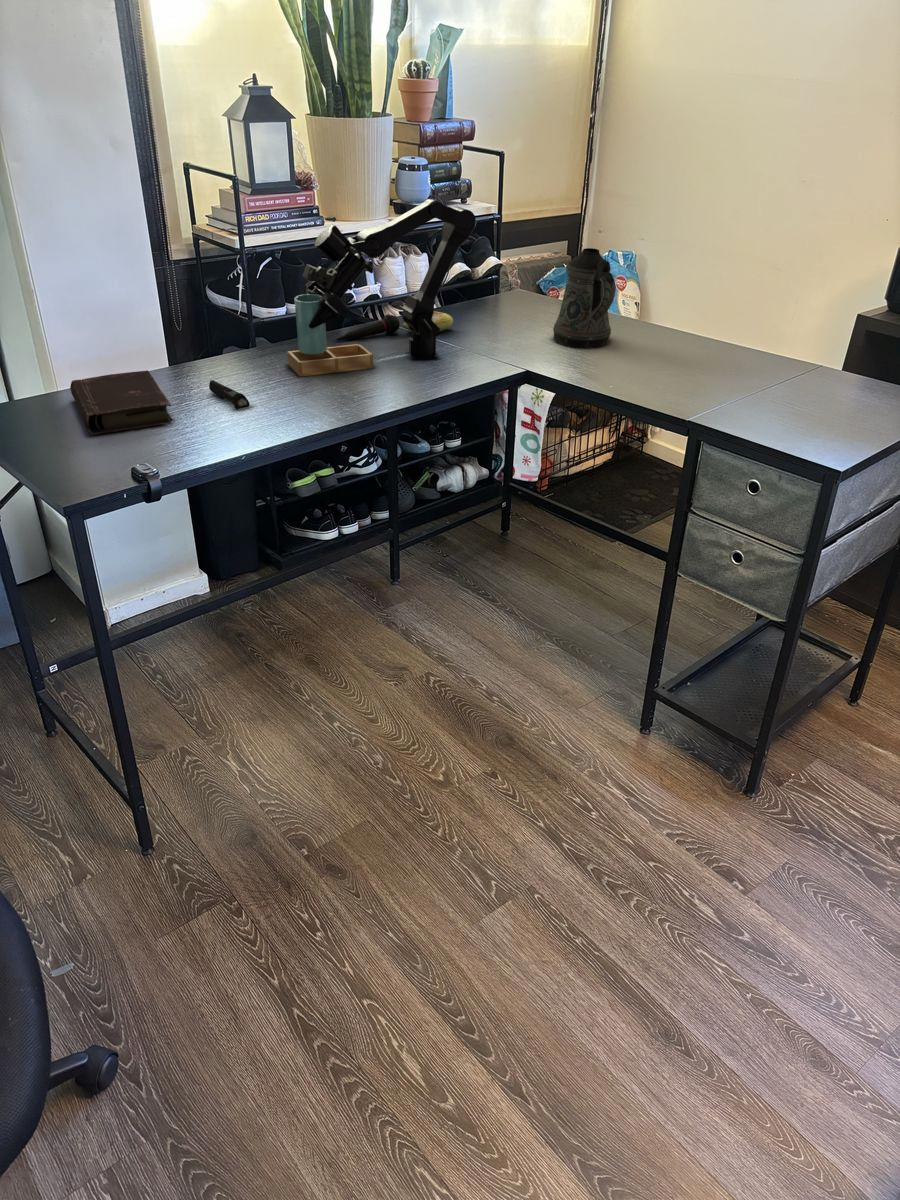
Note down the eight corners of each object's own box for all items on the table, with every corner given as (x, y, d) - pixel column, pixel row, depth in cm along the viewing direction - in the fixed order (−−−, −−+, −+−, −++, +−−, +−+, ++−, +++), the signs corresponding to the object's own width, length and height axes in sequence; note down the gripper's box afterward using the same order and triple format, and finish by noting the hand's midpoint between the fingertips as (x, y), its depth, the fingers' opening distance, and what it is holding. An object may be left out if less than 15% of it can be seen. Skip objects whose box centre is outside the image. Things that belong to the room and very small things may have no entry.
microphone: (341, 353, 252) (402, 335, 260) (341, 335, 248) (403, 318, 255) (333, 343, 255) (393, 325, 262) (332, 325, 250) (394, 308, 258)
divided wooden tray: (360, 357, 239) (359, 343, 237) (373, 368, 231) (373, 354, 229) (288, 365, 232) (287, 351, 230) (299, 376, 224) (298, 362, 222)
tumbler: (331, 346, 229) (328, 295, 222) (320, 355, 224) (316, 303, 216) (305, 343, 231) (301, 292, 224) (294, 352, 225) (289, 300, 218)
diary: (88, 436, 187) (83, 413, 184) (72, 400, 205) (68, 379, 203) (177, 423, 194) (174, 401, 191) (154, 390, 213) (151, 369, 210)
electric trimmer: (220, 390, 214) (219, 377, 212) (251, 407, 204) (250, 393, 202) (206, 393, 212) (204, 380, 210) (236, 410, 202) (235, 397, 200)
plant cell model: (461, 324, 260) (420, 310, 251) (449, 347, 263) (408, 335, 254) (445, 307, 267) (404, 293, 257) (434, 331, 270) (393, 318, 261)
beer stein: (570, 329, 266) (577, 241, 253) (628, 341, 257) (639, 250, 244) (541, 341, 255) (548, 249, 242) (602, 354, 245) (612, 259, 232)
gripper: (310, 245, 223) (271, 294, 225) (333, 259, 209) (291, 311, 211) (341, 275, 230) (303, 322, 232) (366, 291, 216) (325, 341, 218)
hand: (305, 323), depth 223 cm, fingers closed on tumbler, 7 cm apart
